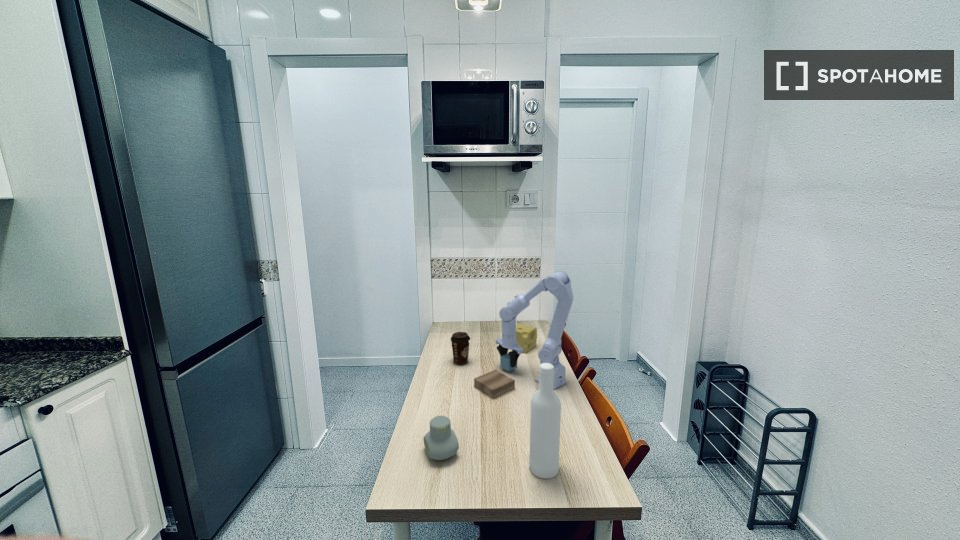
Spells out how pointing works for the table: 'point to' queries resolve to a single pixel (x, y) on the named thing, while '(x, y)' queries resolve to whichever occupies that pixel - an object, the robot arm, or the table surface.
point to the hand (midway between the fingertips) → (508, 364)
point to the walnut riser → (494, 384)
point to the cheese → (526, 337)
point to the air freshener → (440, 439)
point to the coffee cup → (460, 347)
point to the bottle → (545, 426)
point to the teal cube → (506, 362)
